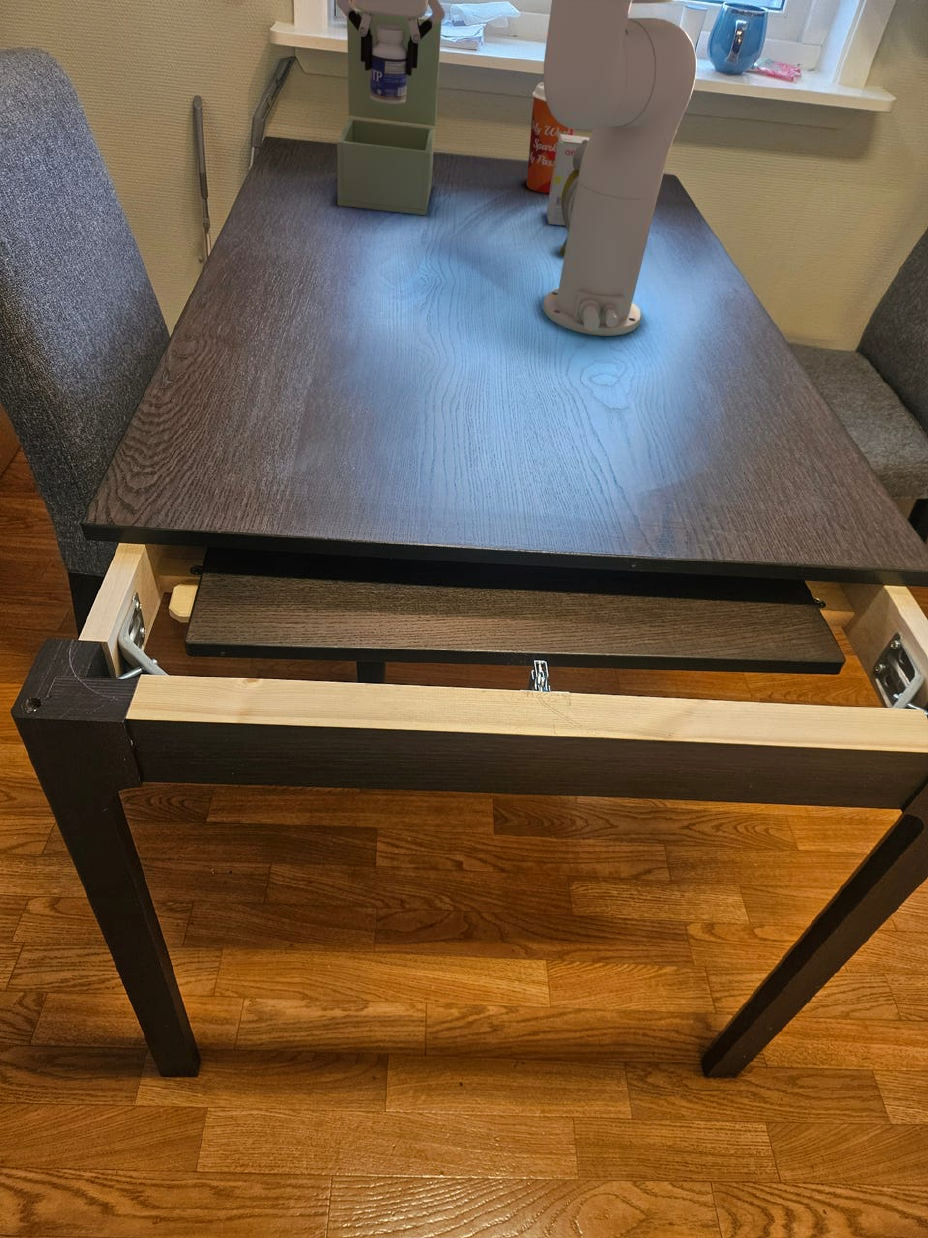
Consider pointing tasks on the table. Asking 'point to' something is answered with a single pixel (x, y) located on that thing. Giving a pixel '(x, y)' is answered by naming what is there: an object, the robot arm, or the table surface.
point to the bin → (385, 166)
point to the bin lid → (418, 84)
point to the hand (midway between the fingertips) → (389, 69)
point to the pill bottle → (388, 66)
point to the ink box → (561, 175)
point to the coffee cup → (543, 143)
